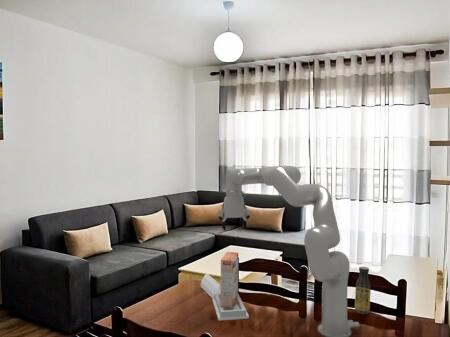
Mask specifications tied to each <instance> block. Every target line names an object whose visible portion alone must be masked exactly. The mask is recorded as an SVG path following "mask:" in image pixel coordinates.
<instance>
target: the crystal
mask: <svg viewBox="0 0 450 337" xmlns="http://www.w3.org/2000/svg"><path fill="white" fill-rule="evenodd" d="M200 288H201V289H202V290H203V291H204V292H205V293H206V294H207V295H208V296H210V298H211V299H212V300H213V299H215V294H219V293H221V283H219V282H218V281H217V280H215V278H214V277H212V276H211V275H210V274H208V273H206V274H204V275H203V277H202V279H201V282H200Z"/></svg>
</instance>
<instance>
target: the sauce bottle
mask: <svg viewBox="0 0 450 337" xmlns="http://www.w3.org/2000/svg"><path fill="white" fill-rule="evenodd" d="M369 272H370V268H369V267H367V266H359V267H358V275H359V276H358V278H357V279H356V280H355V282H356V283H355V292H354V293H355V296H354V311H355V312H356V313H357V314H360V315H368V314H369V313H370V309H371V293H372V292H371V291H372V290H371V281H370V279H369Z"/></svg>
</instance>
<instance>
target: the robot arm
mask: <svg viewBox="0 0 450 337" xmlns="http://www.w3.org/2000/svg"><path fill="white" fill-rule="evenodd" d="M301 178H302V174H301V171H300V169H299V168H297V167H295V166H291V165H282V166H281V165H280V166H277V165H276V166H267V167H250V168H228V169H226V172H225V190H226V192H225V194H226V195H225V197H224V198H223V208H222V209H220V210H219V211H217V212H216V216H217V217H218V219H219V220H220V221H221V228H222V229H223V231H226V229H227V225H226V220H228V219H239V218H240V219H241V218H242V219H243V220H242V229H243V230H246V228H247V221H248V220H249V219H250V218H251V216H252V213H253V211H251V210H250V209H248V208H245V201H244V200H245V199H244V196H243V195H246V194H245V191H243V190H242V187H243V186H246V185H247V186H248V185H255V184H256V185H257V184H259V185H260V184H265V185H266V186H269V187H273V188H274V189H275V190H276V191H277V193H279V194H280V195H281V197H282V198H283V199H284V201H286V202H287V203H288V204H289V205H291V206H292V207H295V208H300V207H305V206H310V205H312V206H313V208H312V219H313V222H314V226H313V227H311V228H309V229H308V230H307V231H306V233H305V234H304V240H303V241H304V242H303V243H304V248H305V252H306V253H305V254H306V257H307V262H308V267H309V270H310V273H311V275H312V277H313V278H314V279H315V280H316V281H318V282H321V283H322V285H321V288H322V289H321V324H319V325H318V326H317V331H318V333H319V334H320V335H322V336H324V337H350V336H351V335H352V328H359V327H360V323H359V321H353V320H352V319H348V282H349V281H348V280H349V275H350V268H351V266H350V265H351V263H350V259H349V258H348V256H347V254H345V253H344V252H341V251H339V250H333V251H329V250H330V249H334V248H335V247H338V245H339V244H340V242H341V234H340V230H339V225H338V221H337V218H336V213H335V210H334V204H333V202H334V201H333V199H332V198H333V197H332V194H331V193H330V191H329V190H328V189H327V188H326V187H324V186H323V185H321V184H319V183H318V184H317V183H305V184H299V182H301V181H300V180H301ZM246 213H247V215H246ZM221 214H223V217H222V216H221Z"/></svg>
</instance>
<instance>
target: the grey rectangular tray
mask: <svg viewBox="0 0 450 337" xmlns="http://www.w3.org/2000/svg"><path fill="white" fill-rule="evenodd" d="M220 295H221V293H219V294H215V299H212V304H213V307H214V311H215V313H216V316H217V320H218V321H220V322H221V321H232V320H244V319H245V320H247V319H250V317H249V316H250V315H249V313H248V311H247V309H246V306H245V305H244V303H243V301H242V298H241V297H240V295H239V294H238V297H237V299H236V301H235V303H234V305H233V307H222V306H220Z"/></svg>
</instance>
